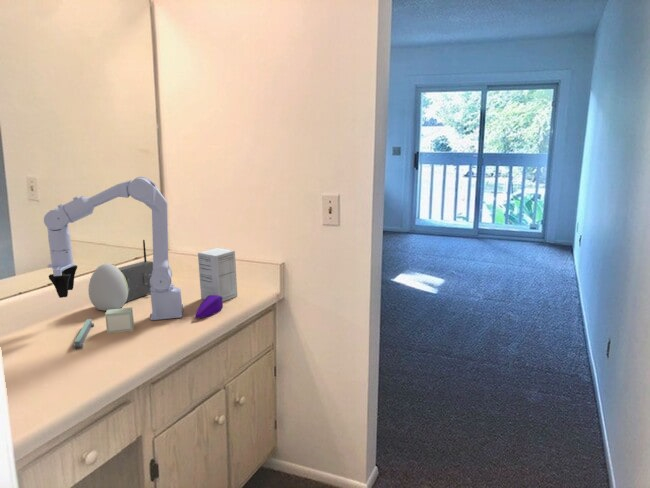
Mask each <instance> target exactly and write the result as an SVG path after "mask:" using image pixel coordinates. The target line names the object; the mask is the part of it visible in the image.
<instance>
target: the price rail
mask: <svg viewBox="0 0 650 488" xmlns="http://www.w3.org/2000/svg"><path fill="white" fill-rule="evenodd" d="M84 322H85V323H84V324H83V325H82V327H81V329H80V330H79V333H78V334H77V336H76V338H75V340H74V344H73V345H72V350H81V349H84V342H86V341H85V340H86V339H87V337H88V334H89V333H90V331H91V328H94V327H95V322H93V321H92V318H87V319H86V320H85V321H84Z"/></svg>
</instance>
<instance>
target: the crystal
mask: <svg viewBox="0 0 650 488" xmlns="http://www.w3.org/2000/svg"><path fill="white" fill-rule="evenodd" d="M223 302H224V301H223ZM223 302H222V296H218V295H209V296H207V297H206V298H205V300H204V299H203V301H202V302H201V303H200V305H199V306H198V308H197V310H196V313H195V319H201V318H207V317H210V316H213V315H215V314H218V313H219V312H221V311H222V310H223V308H224V305H223Z"/></svg>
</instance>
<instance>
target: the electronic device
mask: <svg viewBox="0 0 650 488" xmlns="http://www.w3.org/2000/svg"><path fill="white" fill-rule="evenodd" d="M142 244H143V245H142V249H143V261H140V262H136V263H132V264H128V265H125V266H120V267H117V268H118V269H119V270H120V271H121V272H122V273H123V275H124V276H125V278H126V281H127V284H128V298H127V300H126V302H125V303H127V302H130V301H132V300H136V299H138V298H141V297H144V296H148V295H151V294H150V293H151V292H150V288H151V285H150V278H151V276H152V271H153V261H150V260H149V261H148V260H147V251H146V241H145V239H143V240H142Z"/></svg>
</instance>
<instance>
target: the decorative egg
mask: <svg viewBox="0 0 650 488" xmlns="http://www.w3.org/2000/svg"><path fill="white" fill-rule="evenodd" d="M118 268H119V267H117V266H116V265H114V264H112V263H102V264H101V265H99V266H97V268H96V269H95V270H94V271H93V273H92V274H91V277H90V278H89V282H88V289H87V290H88V297H89V300H90V302H91V304H92V305H93V307H94V308H95V309H96V310H98V311H104V312H105V311H107V310H110V309H121V308H123V307H124V306H125V304H126V303H127V302H126V300H127V298H128V284H127V281H126V278H125V276H124V275H123V273H122V272H121V271H120V270H119V269H118Z"/></svg>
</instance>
